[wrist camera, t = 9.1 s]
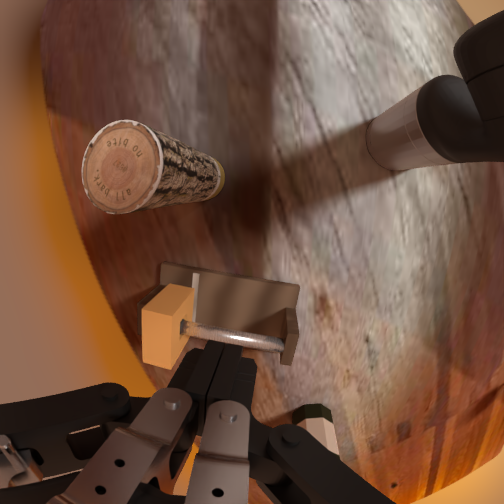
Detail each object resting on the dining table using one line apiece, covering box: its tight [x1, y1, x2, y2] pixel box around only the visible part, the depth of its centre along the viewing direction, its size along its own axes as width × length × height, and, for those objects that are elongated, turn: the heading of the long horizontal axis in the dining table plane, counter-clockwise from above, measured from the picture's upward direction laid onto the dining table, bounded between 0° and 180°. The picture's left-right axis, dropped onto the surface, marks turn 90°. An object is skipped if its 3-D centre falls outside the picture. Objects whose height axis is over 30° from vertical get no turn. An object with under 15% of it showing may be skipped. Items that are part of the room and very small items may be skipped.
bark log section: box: [82, 120, 225, 214], centre depth 30 cm, size 7×7×25 cm
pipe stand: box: [137, 261, 300, 366], centre depth 41 cm, size 22×12×10 cm, turn 81°
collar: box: [142, 284, 195, 370], centre depth 37 cm, size 4×8×10 cm, turn 171°
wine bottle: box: [292, 404, 340, 459], centre depth 35 cm, size 8×8×30 cm
